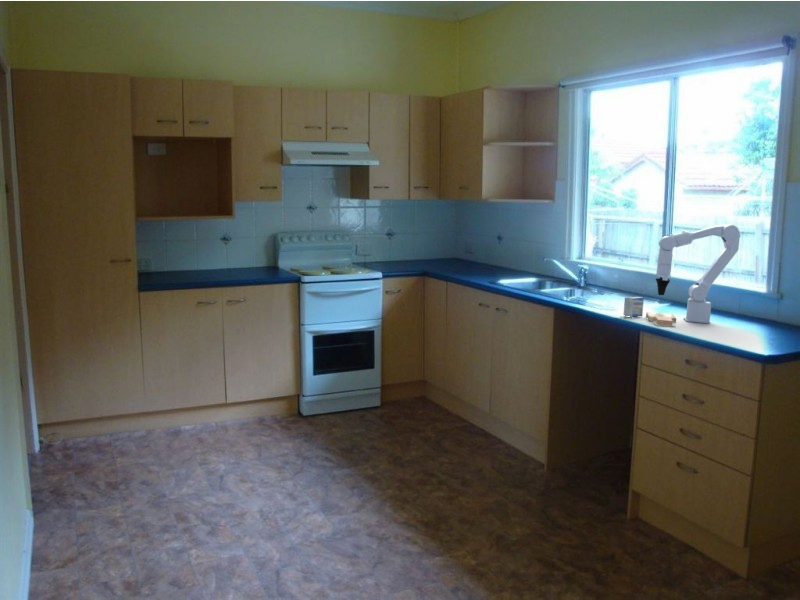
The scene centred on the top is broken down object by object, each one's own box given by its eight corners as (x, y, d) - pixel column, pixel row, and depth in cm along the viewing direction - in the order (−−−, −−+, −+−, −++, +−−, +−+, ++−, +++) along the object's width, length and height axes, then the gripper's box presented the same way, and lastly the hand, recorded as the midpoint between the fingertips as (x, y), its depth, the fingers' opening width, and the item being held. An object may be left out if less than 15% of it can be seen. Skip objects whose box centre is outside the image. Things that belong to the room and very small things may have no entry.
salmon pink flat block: (669, 321, 311) (669, 317, 310) (672, 325, 302) (672, 320, 302) (654, 320, 312) (655, 316, 312) (657, 324, 303) (657, 319, 303)
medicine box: (631, 318, 319) (633, 298, 317) (622, 316, 322) (624, 297, 321) (642, 316, 323) (644, 297, 322) (634, 315, 327) (635, 296, 325)
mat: (672, 322, 310) (672, 322, 310) (675, 326, 301) (675, 326, 301) (652, 321, 312) (652, 320, 312) (655, 325, 303) (655, 324, 303)
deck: (672, 318, 321) (672, 314, 321) (675, 323, 310) (676, 318, 310) (646, 316, 323) (646, 312, 323) (648, 321, 313) (649, 316, 312)
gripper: (652, 261, 324) (649, 292, 327) (656, 264, 310) (653, 296, 313) (669, 263, 323) (666, 293, 325) (674, 266, 309) (670, 297, 311)
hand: (660, 295), depth 319 cm, fingers closed
